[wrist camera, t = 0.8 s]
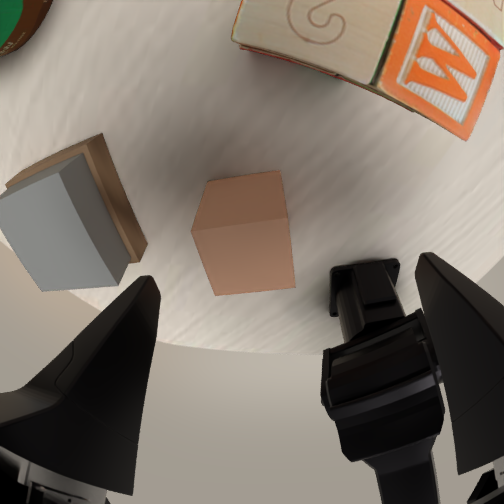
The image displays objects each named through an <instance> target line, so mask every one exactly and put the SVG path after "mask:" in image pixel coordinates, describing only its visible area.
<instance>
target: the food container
mask: <svg viewBox="0 0 504 504" xmlns="http://www.w3.org/2000/svg"><path fill="white" fill-rule="evenodd" d="M52 1H53V0H0V56H3V55H6V54H9V53H11V52H13V51H15V50H17V49H19V48H20V47H21V46H23V45H24V44H25V43H26V42H27V41H28V40H29V39H30V38H31V37H32V36H33V34H34V33H35V32H36V30H37V29H38V28H39V26H40V25H41V23H42V21H43V20H44V18H45V16H46V14H47V12H48V10H49V9H50V6H51V4H52Z"/></svg>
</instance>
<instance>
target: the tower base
mask: <svg viewBox="0 0 504 504" xmlns="http://www.w3.org/2000/svg"><path fill="white" fill-rule="evenodd" d="M81 153H84V156H85V159H86V161H87V164H88V166H89V169H90V171H91V173H92V176H93V178H94V181H95V183H96V185H97V188H98V190H99V192H100V195H101V197H102V199H103V201H104V203H105V206H106V208H107V210H108V212H109V214H110V216H111V219H112V221H113V223H114V225H115V227H116V229H117V231H118V233H119V235H120V237H121V239H122V241H123V243H124V245H125V247H126V249H127V251H128V253H129V255H130V256H131V260H130V262H129V264H130V263H137V262H140V260H141V258H142V256H143V254H144V251H145V249H146V247H147V245H148V243H147V241H146V239H145V237H144V235H143V233H142V231H141V228H140V226H139V224H138V222H137V220H136V217H135V215H134V213H133V210H132V208H131V206H130V204H129V201H128V199H127V196H126V194H125V192H124V189H123V187H122V184H121V182H120V179H119V177H118V174H117V172H116V169H115V167H114V164H113V162H112V159H111V156H110V154H109V151H108V148H107V146H106V143H105V140H104V137H103V134H102V133H101V134H99V135H96V136H94V137H91V138H89V139H86V140H84V141H82V142H79V143H77V144H75V145H72V146H70V147H68V148H66V149H64V150H61V151H59V152H57V153H55V154H53V155H51V156H49V157H47V158H45V159H43V160H41V161H39V162H37V163H35V164H33V165H32V166H30V167H28V168H26V169H24V170H22V171H21V172H19V173H18V174H17V175H16V176H14V177H13V178H12V179H11V180H10V181H8V182H7V183H6V184H5V185H6V187H7V189H8V188H9V187H10V186H12V185H14V184H16V183H18V182H20V181H22V180H24V179H26V178H28V177H30V176H32V175H34V174H36V173H38V172H40V171H42V170H44V169H46V168H48V167H50V166H53V165H55V164H57V163H59V162H62V161H64V160H66V159H68V158H71V157H73V156H76V155H78V154H81Z"/></svg>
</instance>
